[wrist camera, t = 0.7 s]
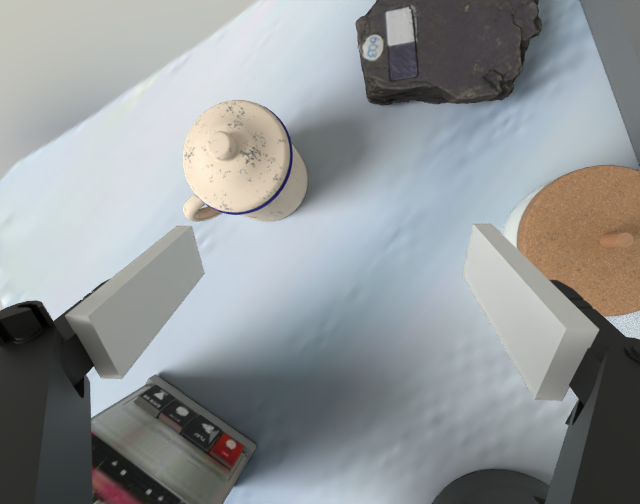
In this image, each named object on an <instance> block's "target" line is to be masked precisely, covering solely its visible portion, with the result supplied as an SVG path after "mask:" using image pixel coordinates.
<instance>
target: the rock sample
mask: <svg viewBox="0 0 640 504" xmlns="http://www.w3.org/2000/svg"><path fill="white" fill-rule="evenodd" d="M538 1H539V0H377V1H376V3H375V4H374V5H373V6H372V8H371V9H370V10H369V11H368V13H367V14H366V15H365V16H362V17H361V18H359V19H358V20H357V21H356V29H357V34H358V48H359V52H360V58H361V66H362V71H363V74H364V80H365V85H366V95H367V99H368V101H369V102H370V103H373V104H379V105H382V106H383V105H389V104H391V103H393V102H409V101H411V100H416V101H423V102H427V103H433V104H440V103H446V102H448V103H456V104H460V103H465V104H468V103H476V102H481V101H486V100H487V101H493V100H503V99H504V98H506V97H508V96H509V95H510V94H511V93H512V91H513V89H514V84H513V82H514V80H515V79H516V77H517V76H518V75H519V74H520V72H521V71H522V68H523V62H524V57H525V51H526V50H527V48H528V45H529V39H530V38H533V37H535V36H538V35H539V33H540V31H541V29H542V24H541V19H540V18H539V17H538V12H539V10H538V6H537V5H538Z"/></svg>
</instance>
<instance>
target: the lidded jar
mask: <svg viewBox="0 0 640 504" xmlns="http://www.w3.org/2000/svg"><path fill="white" fill-rule="evenodd" d="M501 234H502V235H503V236H504V237H505V238H507V239H508V240H509V241H510V242H511V243H512V244H513V245H514V246H515V247H516V248H517V249H518V250H519V251H520V252H521V253H522V254H523V255H524V256H525V257H526V258H527V259H528V260H529V261H530V262H531V263H532V264H533V265H534V266H535V267H536V268H537V269H538V270H539V271H540V272H541V273H542V274H543V275H544V276H545V277H546V278H547V279H548V280H558V281H560V282H562V283H564V284H565V285H567V286H569V287H571V288H573V289H574V290H575V291H576V292H577V293H578V294H579V295H580V296H581V297H583V298H584V300H585V301H587V302H588V303H589V304H590V305H591V306H592V307H593V309H596V310H597V311H598V312H599V313H600V314H601V315H602V316H619V315H625V314H629V313H633V312H636V311H639V310H640V171H638V170H634V169H631V168H627V167H621V166H614V165H600V166H593V167H586V168H583V169H580V170H576V171H573V172H570V173H568V174H566V175H564V176H561V177H559V178H557V179H555V180H554V181H552V182H550V183H548V184H546V185H543V186H541V187H540V188H538V189H536V190H535V191H533V192H532V193H530V194H529V195H527V196H526V197H525V198H524V199H523V200H521V201H520V202H519V203H518V204H517V205H516V206H515V207H514V209H513V210H512V211H511V212H510V214H509V216H508V217H507V219H506V221H505V223H504V226H503V229H502V233H501Z"/></svg>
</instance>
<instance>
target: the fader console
mask: <svg viewBox="0 0 640 504" xmlns="http://www.w3.org/2000/svg"><path fill="white" fill-rule="evenodd" d="M580 2H581V4H582V7H583V10H584V13H585V16H586V18H587V21H588V24H589V27H590V29H591V32H592V35H593V38H594V40H595V43H596V46H597V49H598V52H599V54H600V57H601V60H602V63H603V65H604V68H605V71H606V74H607V77H608V79H609V82H610V85H611V88H612V90H613V93H614V96H615V99H616V102H617V104H618V107H619V110H620V113H621V115H622V118H623V121H624V124H625V127H626V129H627V132H628V135H629V138H630V140H631V143H632V146H633V149H634V152H635V154H636V157H637V160H638V163H639V165H640V0H580Z"/></svg>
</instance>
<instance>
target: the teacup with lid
mask: <svg viewBox="0 0 640 504" xmlns="http://www.w3.org/2000/svg"><path fill="white" fill-rule="evenodd" d="M183 166H184V171H185V175H186V178H187V181H188V183H189V185H190V187H191V188H192V190H193V191H194V193H195V194H194V195H192V196H191V197H190V198H189V199H188V200H187V201H186V203H185V205H184V207H183V212H184V214H185V216H186V217H187V218H188V219H189V220H191V221H196V222H198V221H205V220H209V219H212V218H214V217H217V216H218V215H220V214H222V213H226V214H232V215H242V216H245V217H249V218H252V219H255V220H259V221H265V222H269V221H276V220H280V219H282V218H285V217H287V216H288V215H290V214H291V213H292V212H294V211H295V210H296V209H297V208H298V206H299V205H300V204H301V202H302V200H303V199H304V196H305V194H306V191H307V185H308V174H307V169H306V166H305V163H304V161H303V159H302V158H301V156H300V155H299V153H298V152H297V150H296V149H295V147H294V145H293V144H292V142H291V139H290V136H289V134H288V131H287V129H286V127H285V126H284V124H283V123H282V121H281V120H280V119H279V118H278V117H277V116H276V115H275V114H274V113H273V112H272V111H270V110H269V109H267V108H266V107H264V106H262V105H259V104H257V103H254V102H250V101H245V100H232V101H227V102H223V103H220V104H217V105H215V106H213V107H211V108H210V109H208V110H207V111H206V112H204V113H203V114H202V115H201V116H200V117H199V118H198V119H197V120H196V121H195V123H194V124H193V126H192V127H191V129H190V131H189V133H188V135H187V138H186V141H185V144H184V150H183ZM205 204H206V205H207V206H208V207H206V208H202V209H200V208H201V207H202V206H204V205H205Z"/></svg>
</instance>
